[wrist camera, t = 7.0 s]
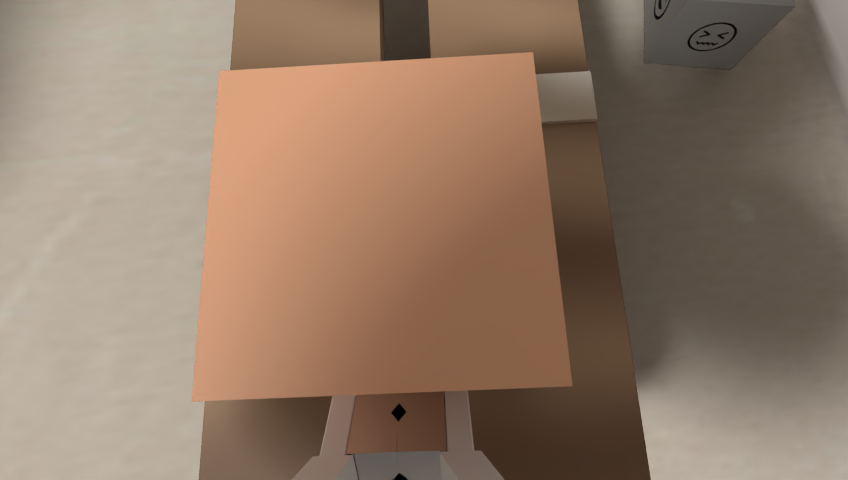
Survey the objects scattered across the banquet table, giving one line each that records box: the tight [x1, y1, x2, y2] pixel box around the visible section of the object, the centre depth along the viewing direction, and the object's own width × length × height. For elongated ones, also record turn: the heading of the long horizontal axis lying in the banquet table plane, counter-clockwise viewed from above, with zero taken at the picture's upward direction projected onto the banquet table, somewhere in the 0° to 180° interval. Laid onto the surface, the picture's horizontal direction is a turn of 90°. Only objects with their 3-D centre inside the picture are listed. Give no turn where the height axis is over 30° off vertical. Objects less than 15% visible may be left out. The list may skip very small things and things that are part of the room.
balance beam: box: [199, 0, 651, 480], centre depth 21 cm, size 32×16×9 cm, turn 2°
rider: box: [192, 52, 572, 402], centre depth 11 cm, size 6×8×10 cm
